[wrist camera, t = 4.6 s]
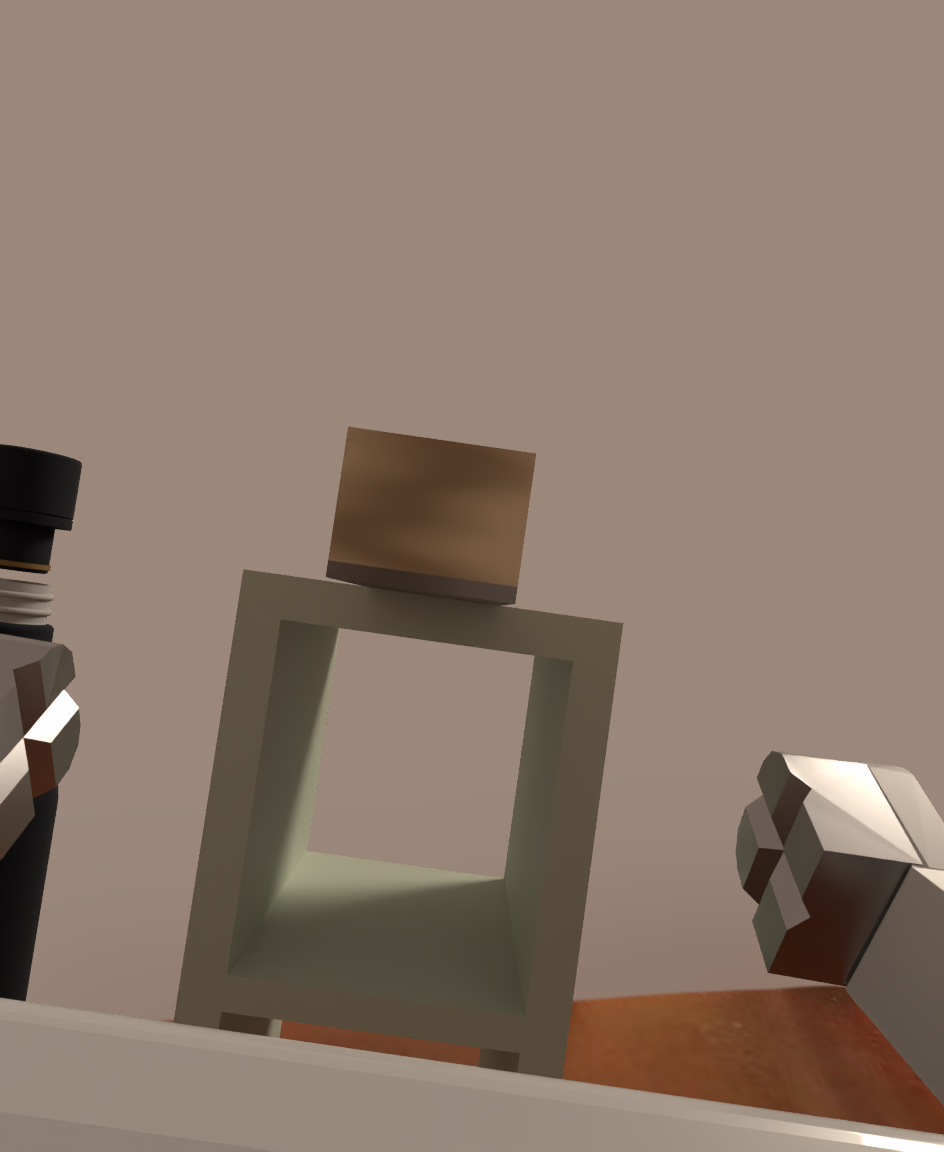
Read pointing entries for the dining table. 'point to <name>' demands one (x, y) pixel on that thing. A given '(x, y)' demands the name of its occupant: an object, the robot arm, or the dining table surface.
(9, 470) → the wine bottle
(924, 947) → the robot arm
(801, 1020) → the dining table surface
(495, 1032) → the shelf stand
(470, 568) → the block
